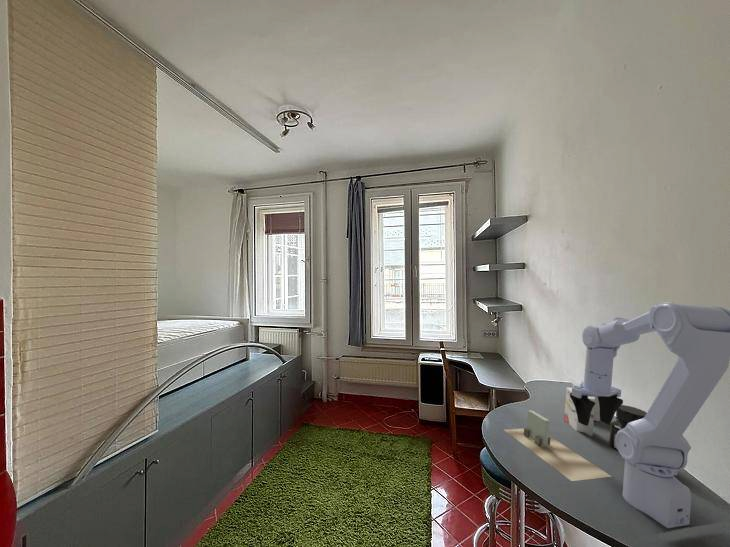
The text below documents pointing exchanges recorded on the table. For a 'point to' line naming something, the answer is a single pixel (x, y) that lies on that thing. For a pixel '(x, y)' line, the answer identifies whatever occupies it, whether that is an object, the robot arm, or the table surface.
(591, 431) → the ink cartridge box
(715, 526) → the table surface
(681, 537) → the table surface
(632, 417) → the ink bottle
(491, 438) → the table surface
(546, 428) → the pale green flat block
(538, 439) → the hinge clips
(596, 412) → the small box
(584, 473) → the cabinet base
